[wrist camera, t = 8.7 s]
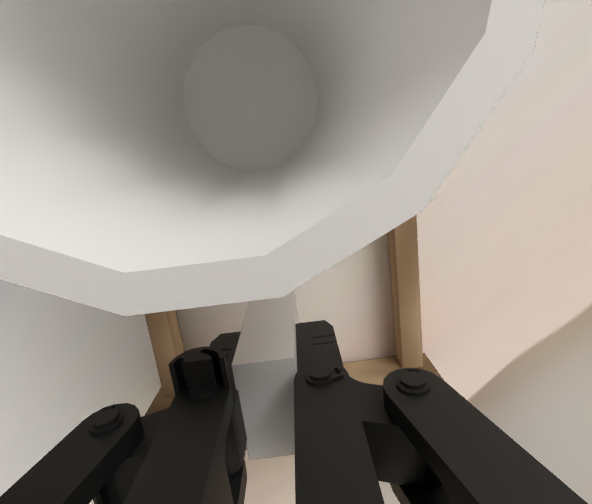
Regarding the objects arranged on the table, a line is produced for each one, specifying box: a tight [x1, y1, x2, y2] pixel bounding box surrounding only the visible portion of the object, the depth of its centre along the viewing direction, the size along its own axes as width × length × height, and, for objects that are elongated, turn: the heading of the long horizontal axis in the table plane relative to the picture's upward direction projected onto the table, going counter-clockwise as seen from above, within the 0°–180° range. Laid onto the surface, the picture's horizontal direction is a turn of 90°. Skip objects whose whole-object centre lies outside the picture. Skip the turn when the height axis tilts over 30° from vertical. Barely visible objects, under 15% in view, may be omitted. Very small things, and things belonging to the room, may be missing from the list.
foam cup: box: [0, 0, 545, 316], centre depth 10 cm, size 10×9×13 cm
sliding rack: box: [145, 215, 443, 450], centre depth 15 cm, size 14×20×4 cm
